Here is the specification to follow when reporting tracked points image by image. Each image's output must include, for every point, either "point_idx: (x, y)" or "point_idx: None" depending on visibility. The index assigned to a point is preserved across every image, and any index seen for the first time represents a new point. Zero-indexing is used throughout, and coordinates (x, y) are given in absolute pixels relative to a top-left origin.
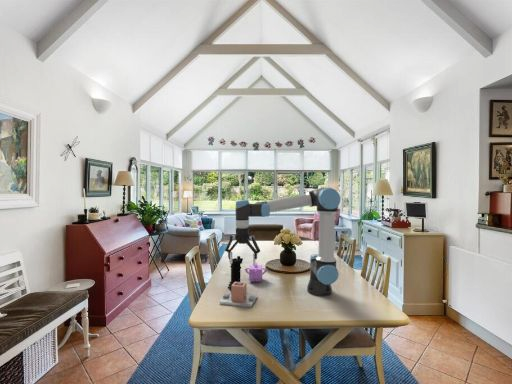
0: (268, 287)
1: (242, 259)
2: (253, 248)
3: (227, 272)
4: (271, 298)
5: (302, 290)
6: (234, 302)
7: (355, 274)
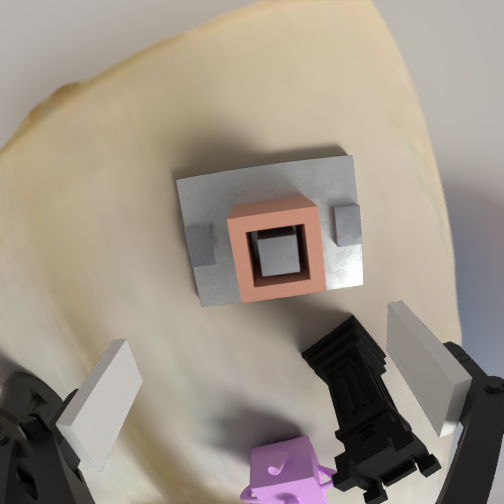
0: (205, 413)
1: (335, 480)
2: (44, 495)
3: None
4: (137, 311)
5: None
6: (272, 170)
7: None
